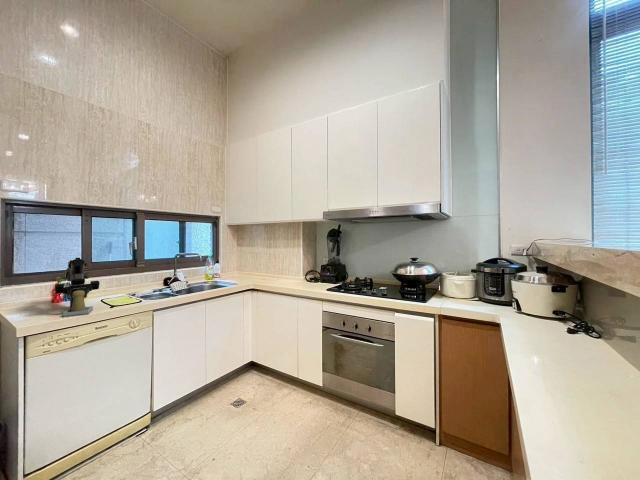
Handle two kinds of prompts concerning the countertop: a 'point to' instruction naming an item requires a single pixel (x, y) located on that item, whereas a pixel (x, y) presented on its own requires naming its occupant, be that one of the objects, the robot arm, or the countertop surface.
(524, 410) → the countertop surface
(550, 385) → the countertop surface
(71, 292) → the robot arm
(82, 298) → the cork
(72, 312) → the grey tray
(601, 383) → the countertop surface
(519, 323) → the countertop surface
